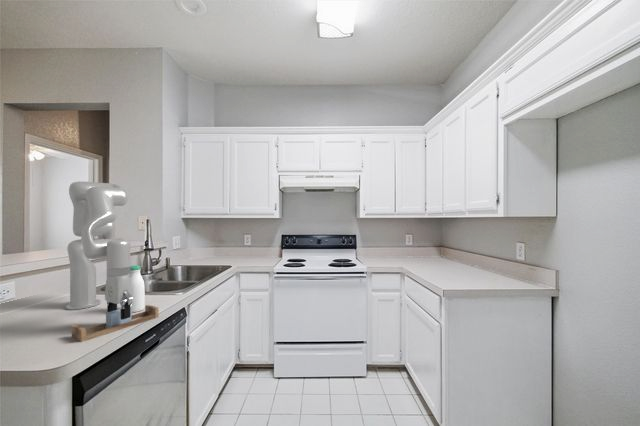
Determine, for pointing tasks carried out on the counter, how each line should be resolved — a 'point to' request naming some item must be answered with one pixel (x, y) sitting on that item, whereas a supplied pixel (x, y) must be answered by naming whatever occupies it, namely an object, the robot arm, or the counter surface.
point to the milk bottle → (137, 289)
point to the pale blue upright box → (115, 318)
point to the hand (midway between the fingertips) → (118, 316)
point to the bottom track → (81, 332)
